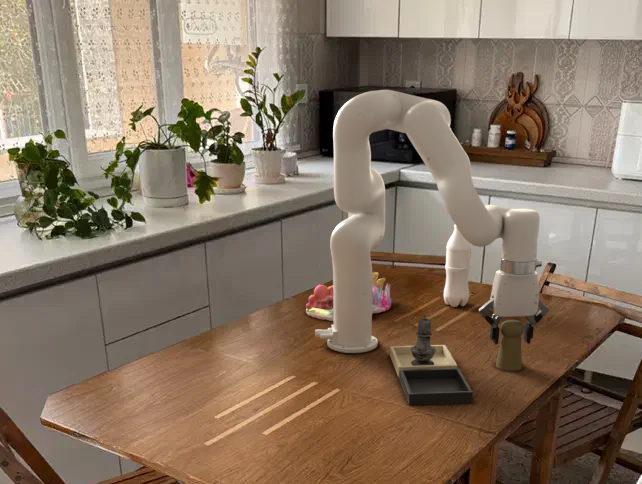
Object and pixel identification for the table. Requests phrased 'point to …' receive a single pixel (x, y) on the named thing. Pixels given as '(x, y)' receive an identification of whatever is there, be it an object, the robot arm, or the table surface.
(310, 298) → the candy landscape model
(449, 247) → the water bottle
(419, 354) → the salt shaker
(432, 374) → the charcoal tray
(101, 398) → the table surface
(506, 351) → the cork
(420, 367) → the cream tray
